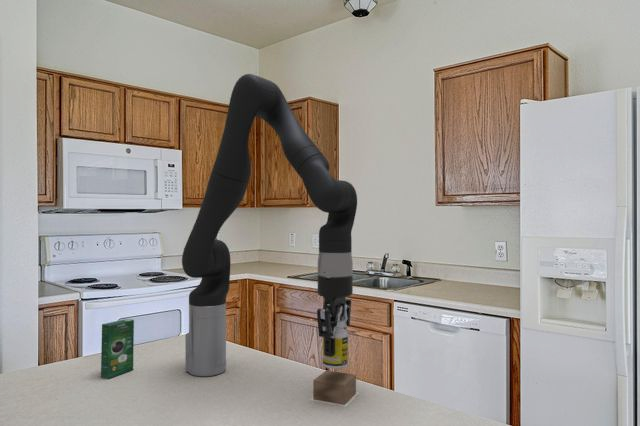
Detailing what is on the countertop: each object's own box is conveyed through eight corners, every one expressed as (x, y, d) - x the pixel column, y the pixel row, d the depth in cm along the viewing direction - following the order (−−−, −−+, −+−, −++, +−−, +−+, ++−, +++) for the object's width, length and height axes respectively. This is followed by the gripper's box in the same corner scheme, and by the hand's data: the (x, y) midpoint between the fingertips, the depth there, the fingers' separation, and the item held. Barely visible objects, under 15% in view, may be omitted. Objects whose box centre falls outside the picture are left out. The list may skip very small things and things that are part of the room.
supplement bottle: (345, 370, 102) (345, 323, 102) (320, 368, 103) (320, 322, 103) (349, 362, 107) (349, 317, 107) (325, 361, 108) (325, 316, 108)
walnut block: (313, 399, 103) (313, 380, 103) (326, 388, 110) (326, 370, 110) (344, 404, 101) (344, 385, 101) (355, 393, 107) (355, 374, 107)
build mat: (292, 402, 105) (292, 396, 105) (316, 383, 116) (316, 379, 116) (346, 411, 100) (346, 406, 100) (365, 391, 111) (365, 386, 111)
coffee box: (126, 368, 127) (126, 317, 127) (134, 369, 125) (134, 318, 125) (100, 377, 119) (100, 323, 119) (108, 379, 118) (108, 325, 118)
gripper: (331, 268, 113) (331, 341, 113) (304, 276, 100) (304, 359, 100) (362, 270, 110) (362, 345, 110) (339, 278, 97) (338, 363, 97)
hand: (334, 351), depth 105 cm, fingers closed on supplement bottle, 5 cm apart
